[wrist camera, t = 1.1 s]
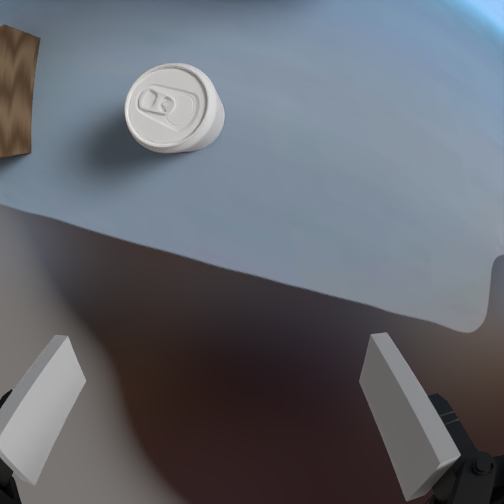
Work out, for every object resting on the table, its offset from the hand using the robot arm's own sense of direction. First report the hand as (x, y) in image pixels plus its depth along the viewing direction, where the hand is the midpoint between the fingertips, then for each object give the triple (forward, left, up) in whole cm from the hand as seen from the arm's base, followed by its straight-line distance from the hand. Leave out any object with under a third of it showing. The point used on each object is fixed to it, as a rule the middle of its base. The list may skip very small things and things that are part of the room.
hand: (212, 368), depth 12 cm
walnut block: (-19, -34, -27) cm, 47 cm away
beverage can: (-12, -5, -27) cm, 30 cm away
